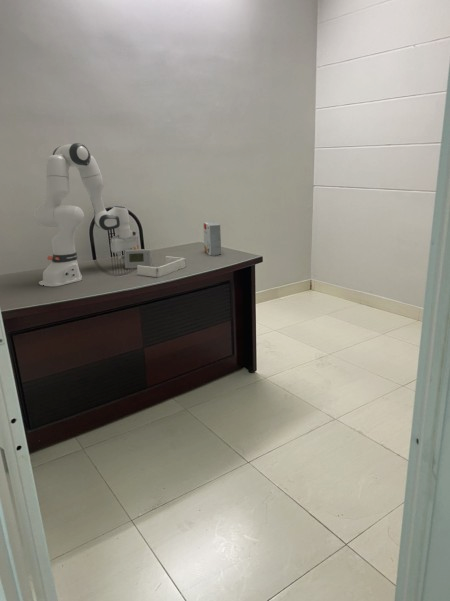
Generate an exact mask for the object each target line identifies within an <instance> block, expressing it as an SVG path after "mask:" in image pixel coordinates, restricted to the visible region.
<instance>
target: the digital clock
mask: <svg viewBox="0 0 450 601" xmlns="http://www.w3.org/2000/svg"><path fill="white" fill-rule="evenodd" d="M152 251H153V250H152V249H151V248H149V249H148V248H141V249H140V248H139V249H136V250H125V251H124V252H123V253H124V254H123V255H124V268H125V269H127V270H129V269H131V270H137V266H138V265H140V266H148V267H153V252H152Z"/></svg>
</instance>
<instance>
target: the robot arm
mask: <svg viewBox="0 0 450 601" xmlns="http://www.w3.org/2000/svg"><path fill="white" fill-rule="evenodd" d="M71 167H75V168H76V169H77V171H78V173H79V177H80V178H81V179H80V180H81V182H82V184H83V186H84V189H85V191H86V192H87V194H88V196H89V198H90V202H91V205H92V208H93V211H94V214H93V216H94V217H93V221H94V225H95V226H96V227H98V228H99V229H102V230H104V231H112V230H114V231H115V232H114V233H115V236H112V237H111V239H110V252H111V253H113V254H115V253H116V256H117V258H118V260H122V259H123V255H121V252H123V251H124V250H127V249H130V250H134V247H137V245H138V246H139V239H138V240H137V236H138V233H137V231H135V230H133V229H132V230H131V226H130V214H129V210H128V208H127V207H124V206H122V205H121V206H120V205H114V206H113V207H112V208H111V209H109V210H108V211H107V209H106V208H105V203H104V200H103V197H102V196H103V195H102V192H103V188H104V180H103V175H102V172H101V170H100V167H99V165H98V162H97V160H96V158H95V157H94V156H93V155H92V154H91V153H90V151H89V148H88V147H87V146H86V145H85V144H82V143H80V142H79V143H78V142H75V143H66V144H64V145H60V146H58V147H57V148H55V149H54V150H53V151H52V155H49V156H48V157H47V159H46V165H45V195H44V198H43V200H42V201H41V202H42V203H41V204H39V206H38V207H36V209H35V210H34V212H33V213H34V214H33V216H34V220H35V222H36V224H38V225H39V226H41V227H42V226H43V227H46V228H47V227H48V228H59V231H58V233H57V234H56V235H54V236H53V237H52V239H51V245H52V252H53V254H52V255H47V256H46V259H47V260H49V261H51V262H50V264H49V265H48V266H47V267H46V269H44V271H43V272H42V280H40V281H38V285H40V286H43V285H44V286H43V287H61V286H63V285H68V284H72V283H76V282H80V281H82V280H83V276H82V273H81V271H80V267H79V264H78V254H77V251H76V242H75V241H76V240H75V236H76V232H77V230H78V228H79V227H80V226H81V225H83V223H84V221H85V213H84V211H83V209H82V208H81V207H80V206H76V205H72V204H68V205H67V204H64V205H63V204H61V203H62V201H63V200H64V199H65V198H67V197H68V196H69V195H70V190H71V189H70V172H69V170H70V168H71Z"/></svg>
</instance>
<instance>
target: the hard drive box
mask: <svg viewBox="0 0 450 601" xmlns="http://www.w3.org/2000/svg"><path fill="white" fill-rule="evenodd" d="M202 223H203V238H204V239H203V243H204V252H205V253H206V254H208V255H209V256H210V255H214V256H220V255H219V254H221V255H222V244H221V242H222V241H221V240H222V239H221V236H222V235H221V224H219V223H217V222H215V221H204V222H202Z"/></svg>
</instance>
